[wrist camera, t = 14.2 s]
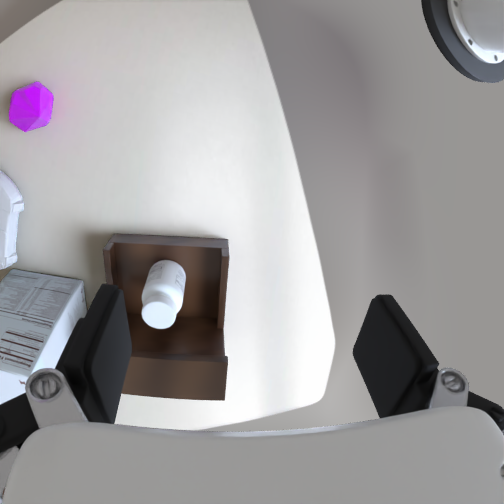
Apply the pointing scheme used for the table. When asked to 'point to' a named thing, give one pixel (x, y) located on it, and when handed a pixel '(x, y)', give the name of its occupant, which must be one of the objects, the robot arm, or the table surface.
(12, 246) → the game controller
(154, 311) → the pill bottle
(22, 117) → the crystal
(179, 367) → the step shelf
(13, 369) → the supplement box
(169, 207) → the table surface
